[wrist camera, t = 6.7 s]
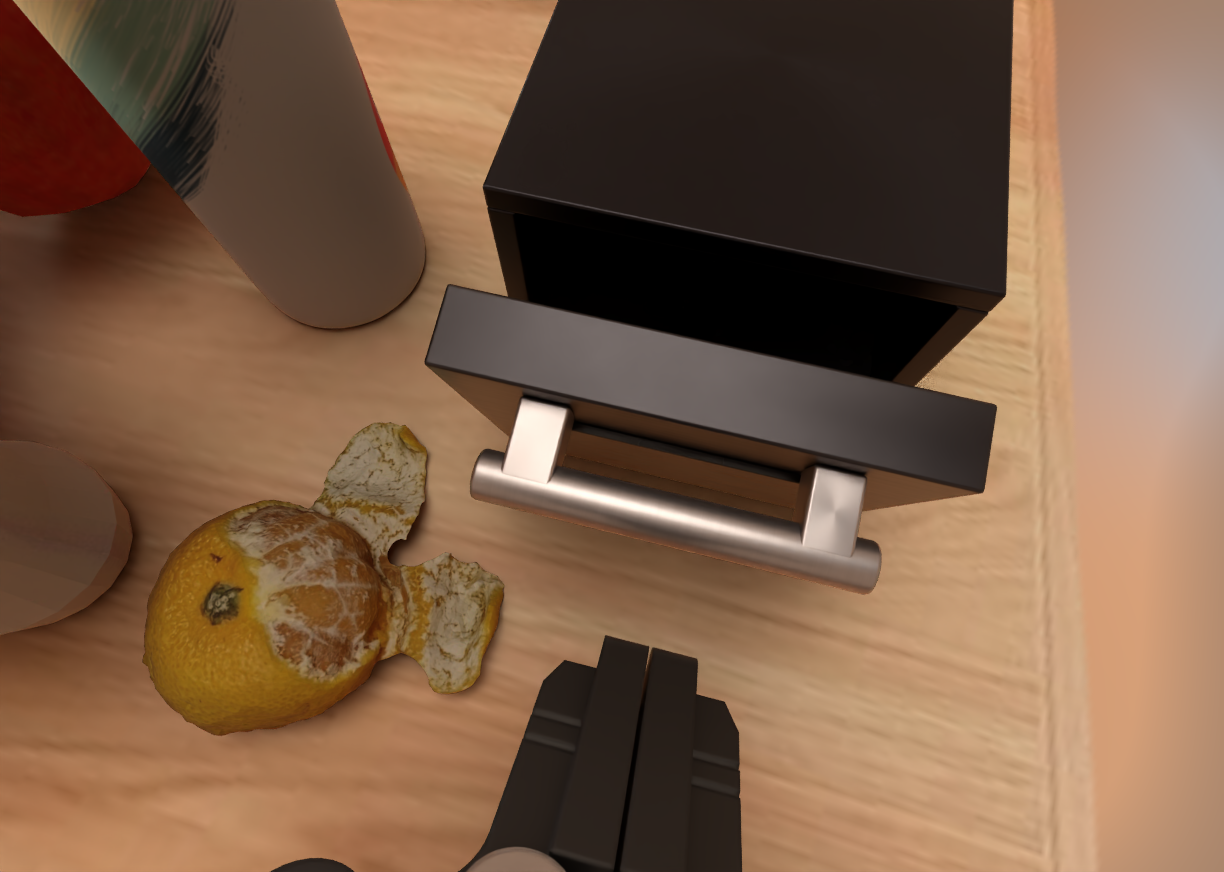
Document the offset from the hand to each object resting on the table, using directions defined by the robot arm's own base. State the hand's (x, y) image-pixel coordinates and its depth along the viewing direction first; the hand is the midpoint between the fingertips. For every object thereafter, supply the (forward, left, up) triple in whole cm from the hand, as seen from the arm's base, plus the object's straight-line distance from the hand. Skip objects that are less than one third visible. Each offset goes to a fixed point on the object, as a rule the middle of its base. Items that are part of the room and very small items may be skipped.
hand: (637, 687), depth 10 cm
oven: (+6, +12, -8) cm, 15 cm away
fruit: (-7, +4, -8) cm, 11 cm away
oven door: (+3, +5, -8) cm, 10 cm away
